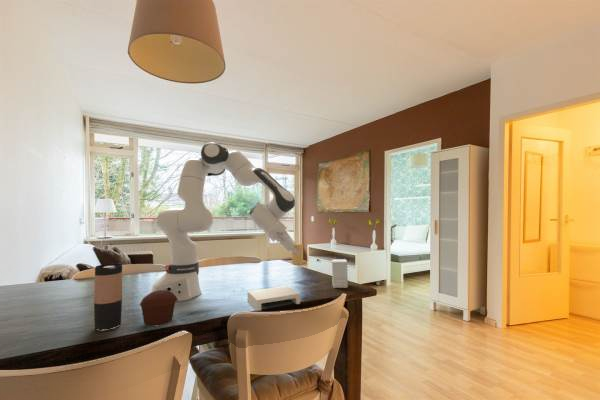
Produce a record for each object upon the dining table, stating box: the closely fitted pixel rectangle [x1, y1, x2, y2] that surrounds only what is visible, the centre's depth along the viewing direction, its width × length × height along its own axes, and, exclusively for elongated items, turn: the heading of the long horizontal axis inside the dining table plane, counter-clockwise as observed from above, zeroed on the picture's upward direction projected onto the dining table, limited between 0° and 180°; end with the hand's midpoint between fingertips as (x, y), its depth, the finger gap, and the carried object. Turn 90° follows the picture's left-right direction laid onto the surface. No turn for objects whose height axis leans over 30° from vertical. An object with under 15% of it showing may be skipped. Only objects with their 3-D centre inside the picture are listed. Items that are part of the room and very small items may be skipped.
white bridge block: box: [247, 285, 301, 312], centre depth 116 cm, size 18×13×4 cm
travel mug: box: [93, 262, 123, 330], centre depth 93 cm, size 8×8×20 cm
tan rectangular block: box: [291, 243, 304, 266], centre depth 130 cm, size 5×5×9 cm
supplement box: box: [331, 258, 349, 289], centre depth 140 cm, size 7×7×13 cm
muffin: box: [139, 290, 178, 326], centre depth 98 cm, size 12×11×10 cm
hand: (298, 253), depth 130 cm, fingers closed on tan rectangular block, 5 cm apart
